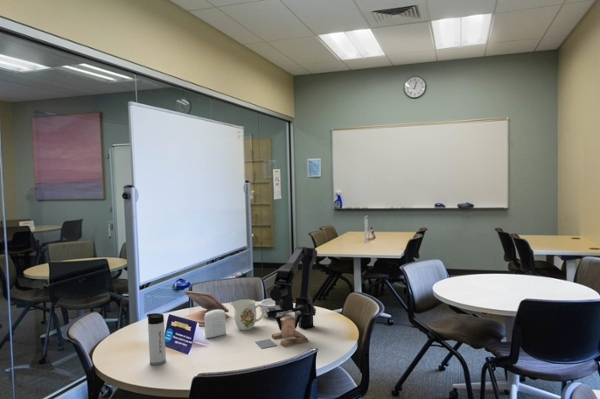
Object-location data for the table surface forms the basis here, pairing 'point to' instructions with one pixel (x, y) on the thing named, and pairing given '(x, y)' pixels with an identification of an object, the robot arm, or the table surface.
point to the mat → (265, 343)
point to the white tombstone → (215, 323)
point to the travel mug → (156, 338)
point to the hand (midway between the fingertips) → (288, 329)
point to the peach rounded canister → (287, 326)
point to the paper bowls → (269, 306)
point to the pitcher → (246, 313)
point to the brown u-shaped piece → (298, 339)
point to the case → (204, 306)
